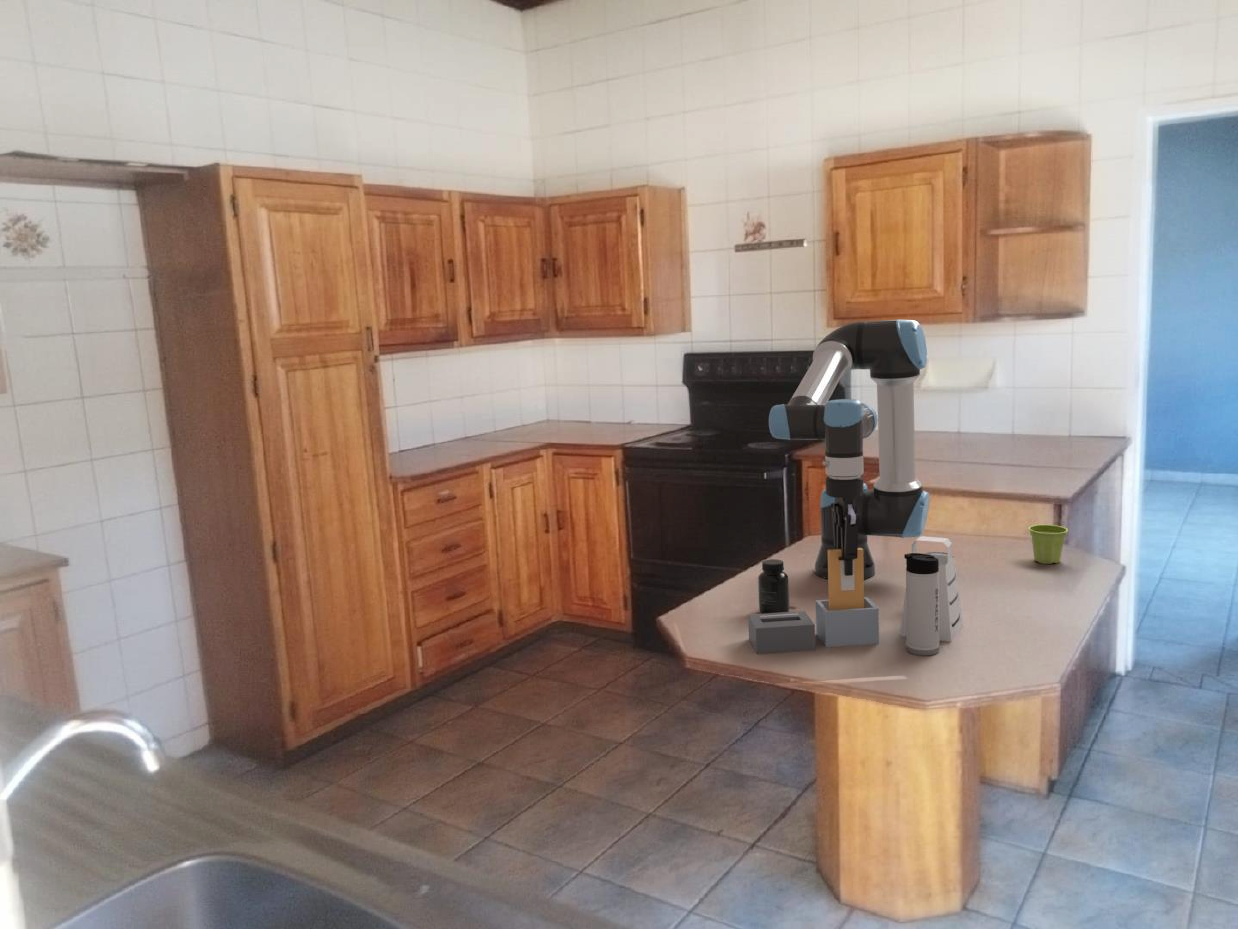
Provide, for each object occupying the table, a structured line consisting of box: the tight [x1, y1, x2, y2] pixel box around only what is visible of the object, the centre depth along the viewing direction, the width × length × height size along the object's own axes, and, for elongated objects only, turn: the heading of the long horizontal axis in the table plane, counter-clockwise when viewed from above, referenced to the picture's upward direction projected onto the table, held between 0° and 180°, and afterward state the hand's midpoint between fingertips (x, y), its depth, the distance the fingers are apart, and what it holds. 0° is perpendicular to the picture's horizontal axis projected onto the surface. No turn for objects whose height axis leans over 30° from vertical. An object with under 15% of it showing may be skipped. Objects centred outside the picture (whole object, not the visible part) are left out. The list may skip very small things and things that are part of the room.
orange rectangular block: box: [827, 548, 865, 610], centre depth 201 cm, size 7×2×15 cm, turn 92°
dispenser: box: [747, 610, 816, 655], centre depth 201 cm, size 12×9×6 cm
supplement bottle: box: [757, 558, 790, 614], centre depth 224 cm, size 7×7×12 cm
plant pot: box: [1028, 524, 1069, 565], centre depth 253 cm, size 9×9×9 cm
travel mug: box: [904, 552, 940, 656], centre depth 194 cm, size 6×7×20 cm
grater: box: [899, 535, 964, 643], centre depth 205 cm, size 10×10×20 cm
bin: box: [815, 596, 880, 648], centre depth 203 cm, size 8×11×8 cm
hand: (846, 588), depth 201 cm, fingers closed on orange rectangular block, 1 cm apart
